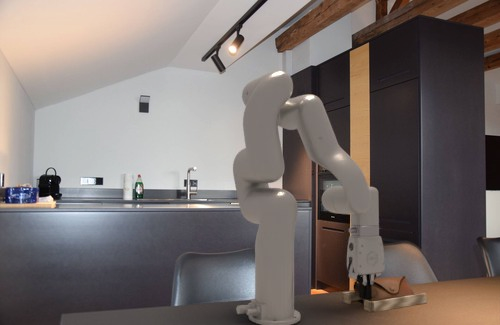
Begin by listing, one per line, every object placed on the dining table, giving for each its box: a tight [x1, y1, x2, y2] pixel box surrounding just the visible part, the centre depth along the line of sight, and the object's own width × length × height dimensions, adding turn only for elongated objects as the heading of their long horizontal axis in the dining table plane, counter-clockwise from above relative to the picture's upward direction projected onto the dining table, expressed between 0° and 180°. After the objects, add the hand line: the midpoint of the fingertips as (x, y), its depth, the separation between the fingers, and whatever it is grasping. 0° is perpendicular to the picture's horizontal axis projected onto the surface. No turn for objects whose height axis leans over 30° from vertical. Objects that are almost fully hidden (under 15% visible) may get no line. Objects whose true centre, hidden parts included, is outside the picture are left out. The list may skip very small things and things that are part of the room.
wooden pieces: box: [341, 290, 427, 313], centre depth 121 cm, size 20×12×2 cm, turn 117°
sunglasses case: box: [353, 275, 416, 302], centre depth 124 cm, size 18×7×7 cm, turn 113°
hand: (365, 298), depth 118 cm, fingers closed
